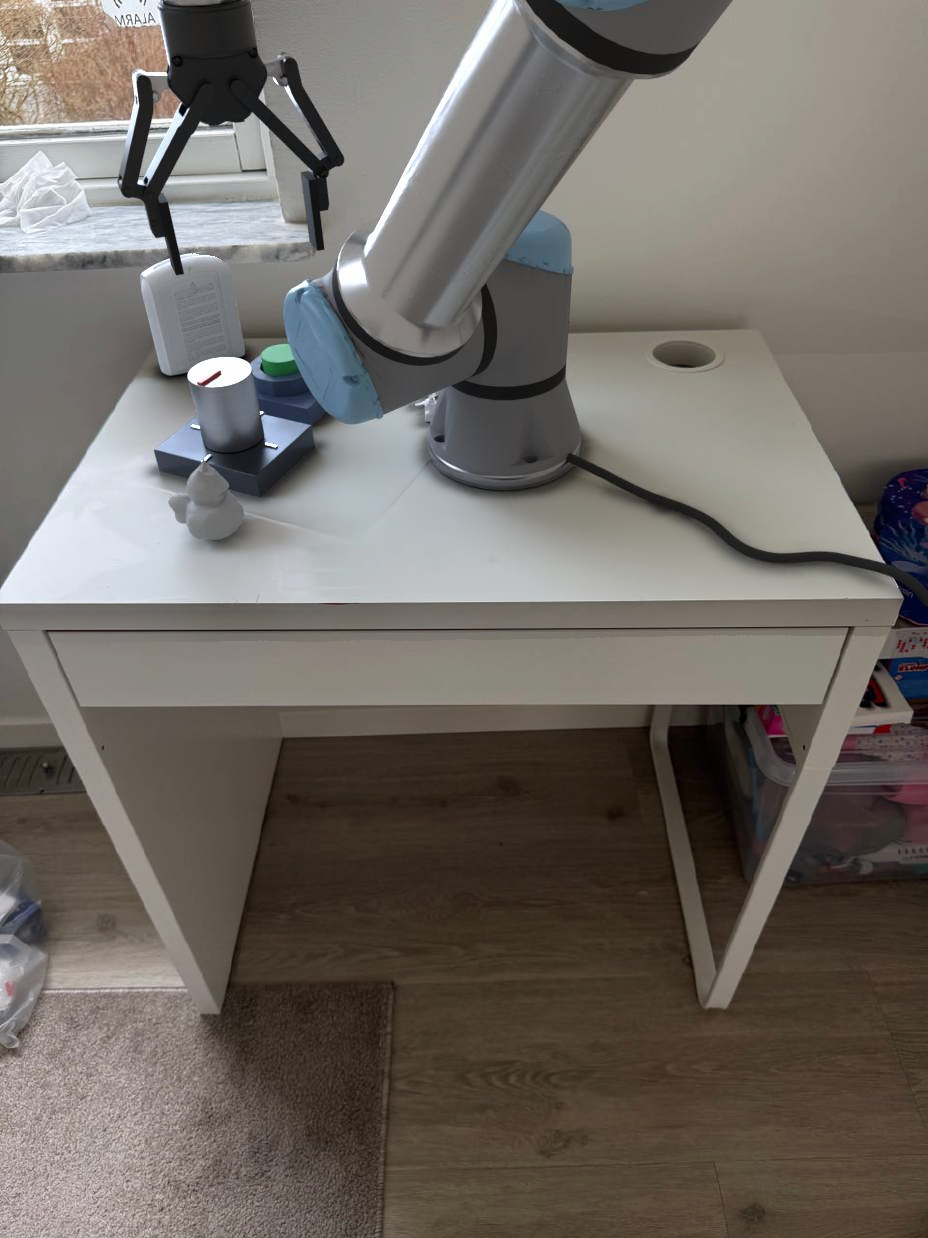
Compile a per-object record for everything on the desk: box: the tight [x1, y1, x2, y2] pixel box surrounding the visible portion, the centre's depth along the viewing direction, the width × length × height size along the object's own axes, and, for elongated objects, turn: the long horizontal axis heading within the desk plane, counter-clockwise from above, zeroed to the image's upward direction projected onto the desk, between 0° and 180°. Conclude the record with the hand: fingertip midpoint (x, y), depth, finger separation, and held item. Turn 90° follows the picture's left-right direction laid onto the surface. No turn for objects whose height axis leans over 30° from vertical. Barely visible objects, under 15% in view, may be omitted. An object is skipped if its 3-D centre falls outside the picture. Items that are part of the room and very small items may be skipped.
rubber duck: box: [167, 458, 245, 541], centre depth 83 cm, size 5×7×8 cm
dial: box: [186, 357, 264, 453], centre depth 91 cm, size 6×6×7 cm
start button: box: [260, 343, 300, 376], centre depth 101 cm, size 4×4×2 cm
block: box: [249, 354, 328, 426], centre depth 103 cm, size 11×9×4 cm
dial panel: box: [153, 411, 315, 498], centre depth 94 cm, size 12×10×3 cm
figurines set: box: [414, 391, 440, 423], centre depth 103 cm, size 12×3×3 cm, turn 2°
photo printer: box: [139, 252, 246, 377], centre depth 107 cm, size 10×4×12 cm, turn 123°
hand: (248, 257), depth 91 cm, fingers open, 13 cm apart
